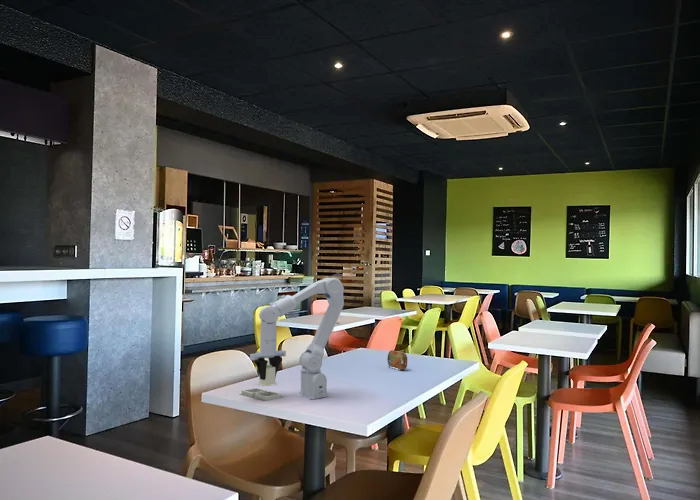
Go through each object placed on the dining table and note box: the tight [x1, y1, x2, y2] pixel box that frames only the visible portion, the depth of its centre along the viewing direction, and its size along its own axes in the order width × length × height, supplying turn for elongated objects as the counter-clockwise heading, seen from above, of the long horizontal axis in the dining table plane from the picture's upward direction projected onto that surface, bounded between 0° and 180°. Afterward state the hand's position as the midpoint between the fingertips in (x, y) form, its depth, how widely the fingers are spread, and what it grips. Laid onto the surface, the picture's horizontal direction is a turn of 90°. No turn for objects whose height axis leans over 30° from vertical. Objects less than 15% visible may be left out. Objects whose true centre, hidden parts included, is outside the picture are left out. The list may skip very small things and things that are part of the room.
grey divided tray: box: [238, 387, 284, 402], centre depth 196 cm, size 15×9×2 cm, turn 46°
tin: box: [387, 350, 408, 371], centre depth 257 cm, size 15×3×8 cm, turn 25°
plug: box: [258, 365, 276, 387], centre depth 194 cm, size 4×4×7 cm
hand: (267, 378), depth 194 cm, fingers closed on plug, 4 cm apart
